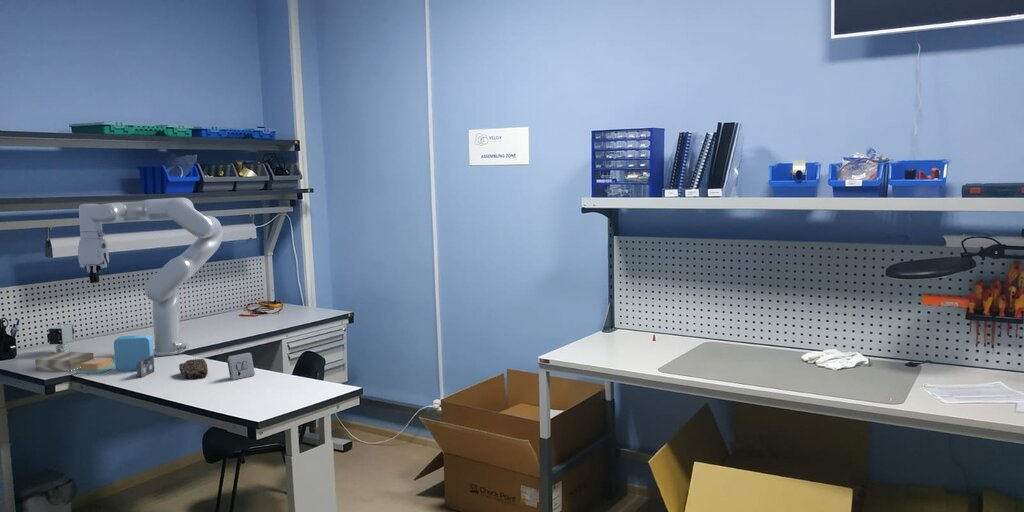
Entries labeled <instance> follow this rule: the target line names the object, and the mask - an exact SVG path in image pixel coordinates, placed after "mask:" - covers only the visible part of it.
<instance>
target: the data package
mask: <svg viewBox="0 0 1024 512" xmlns="http://www.w3.org/2000/svg"><path fill="white" fill-rule="evenodd" d="M113 349H114V350H113V351H114V362H115V368H114V369H115V370H117V371H118V372H125V371H131V372H132V371H137V361H140V360H142V359H144V358H146V357H149V356H154V357H155V355H154V352H153V349H154V337H152V336H151V335H147V334H144V335H122V336H119V337H117V338H116V339H115V340H113Z"/></svg>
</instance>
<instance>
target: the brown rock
mask: <svg viewBox="0 0 1024 512" xmlns="http://www.w3.org/2000/svg"><path fill="white" fill-rule="evenodd" d="M178 368H179V369H178V370H179V372H180V374H181V376H183V377H184V378H185V379H186V378H188V379H190V380H191V379H194V380H195V379H203V378H205V377H207V376H208V371H209V369H208V364H207V361H206V360H205V359H204V358H197V359H196V358H195V359H188V360H186V361H185V362H183V363H179V365H178Z"/></svg>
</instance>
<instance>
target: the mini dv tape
mask: <svg viewBox="0 0 1024 512" xmlns="http://www.w3.org/2000/svg"><path fill="white" fill-rule="evenodd" d="M153 373H155V355H154V356H149V357H146V358H144V359H142V360H140V361H137V370H136V376H137V379H142V378H145V377H147V376H149V375H150V374H153Z"/></svg>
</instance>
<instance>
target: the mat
mask: <svg viewBox="0 0 1024 512" xmlns="http://www.w3.org/2000/svg"><path fill="white" fill-rule="evenodd" d="M112 362H113V364H112V365H110V366H107V367H104V368H102V369H99V370H96V371H94V370H81V368H78V369H75V370H72V371H69V373H70V372H76V373H75V374H77V373H78V374H102V373H105V372H108V371H110V370H113V369H116V368H115V361H112Z"/></svg>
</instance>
